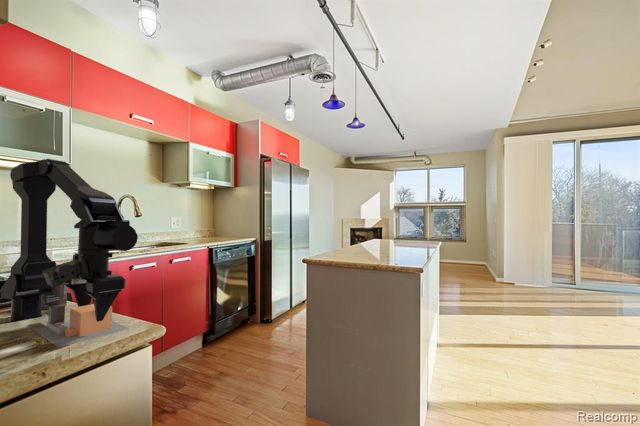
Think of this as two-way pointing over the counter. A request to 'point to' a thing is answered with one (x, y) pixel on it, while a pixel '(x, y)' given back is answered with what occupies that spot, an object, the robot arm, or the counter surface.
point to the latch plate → (60, 339)
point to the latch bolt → (55, 314)
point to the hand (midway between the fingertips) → (90, 316)
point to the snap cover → (87, 321)
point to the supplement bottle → (55, 297)
